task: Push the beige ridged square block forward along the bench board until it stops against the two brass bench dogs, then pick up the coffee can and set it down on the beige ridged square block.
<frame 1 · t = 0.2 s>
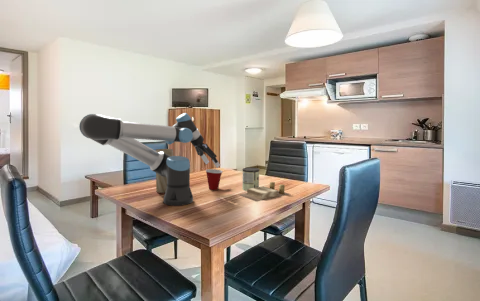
hand: (213, 164, 169), 15 cm above the table, tool tilted 35°, fingers open, 13 cm apart
bench board: (264, 197, 154), on the table
tan tall block: (164, 190, 165), on the table
coffee can: (250, 191, 166), on the table
beige ridged square block: (262, 194, 153), point 1 cm above the table, touching bench board
plastic cup: (214, 189, 171), on the table
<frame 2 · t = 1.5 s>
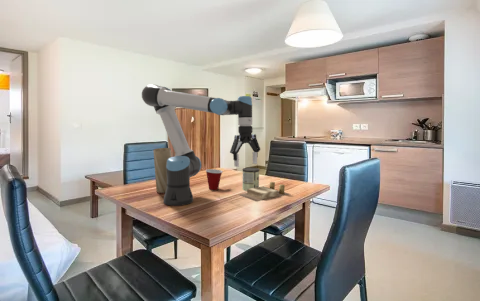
hand: (246, 165, 147), 19 cm above the table, tool pointing down, fingers open, 13 cm apart
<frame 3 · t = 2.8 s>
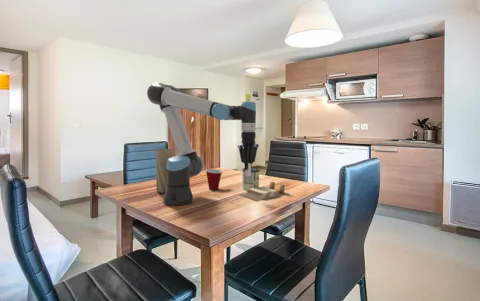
hand: (248, 175, 145), 14 cm above the table, tool pointing down, fingers closed
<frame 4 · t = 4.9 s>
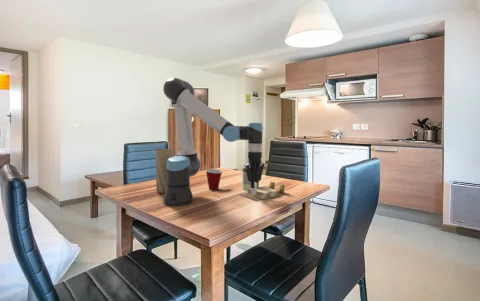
hand: (254, 193, 149), 3 cm above the table, tool pointing down, fingers closed
beige ridged square block: (262, 194, 153), point 2 cm above the table, touching gripper
everything else where it was.
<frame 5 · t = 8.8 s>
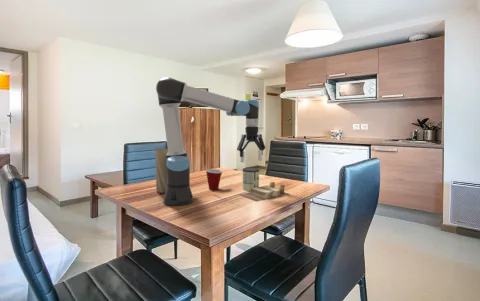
hand: (251, 161, 164), 19 cm above the table, tool pointing down, fingers open, 13 cm apart
tan tall block: (165, 190, 165), on the table, touching arm
beige ridged square block: (265, 194, 154), point 1 cm above the table, touching bench board
everything else where it was.
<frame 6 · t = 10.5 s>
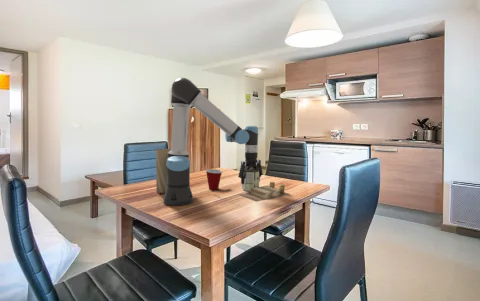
hand: (250, 187, 166), 2 cm above the table, tool pointing down, fingers closed on coffee can, 10 cm apart
tan tall block: (165, 190, 165), on the table
coffee can: (250, 191, 166), on the table, touching gripper
everything else where it was.
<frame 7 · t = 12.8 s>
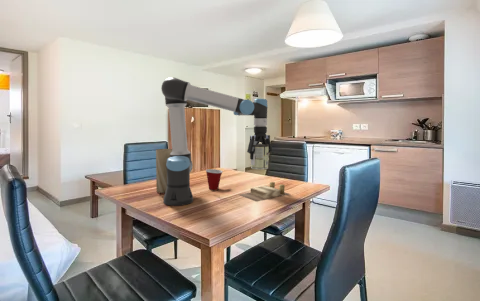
hand: (259, 164, 159), 18 cm above the table, tool pointing down, fingers closed on coffee can, 10 cm apart
coffee can: (259, 168, 159), point 15 cm above the table, touching gripper
everything else where it was.
when the fingers open (8 cm above the table, at t = 15.5 s): coffee can drops 1 cm, resting on beige ridged square block.
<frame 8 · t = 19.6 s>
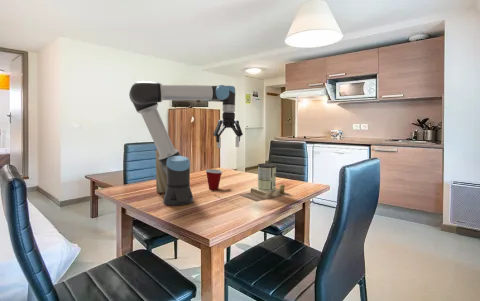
hand: (228, 147, 165), 27 cm above the table, tool pointing down, fingers open, 13 cm apart
tan tall block: (165, 190, 165), on the table, touching arm
coffee can: (266, 189, 154), point 4 cm above the table, touching beige ridged square block
beige ridged square block: (265, 194, 154), point 1 cm above the table, touching bench board, coffee can
everything else where it was.
at the end: beige ridged square block moved 2.5 cm from its start; coffee can 0.7 cm from the beige ridged square block (horizontally); coffee can point 4.3 cm above the table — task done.
